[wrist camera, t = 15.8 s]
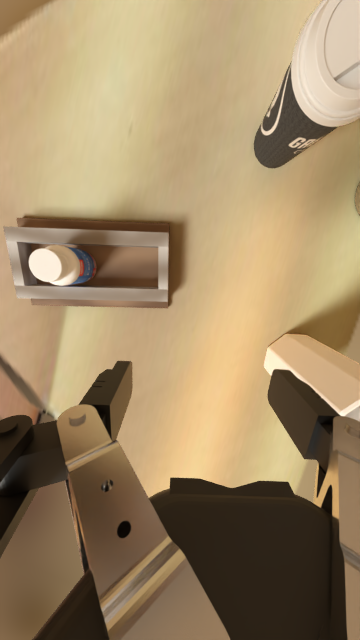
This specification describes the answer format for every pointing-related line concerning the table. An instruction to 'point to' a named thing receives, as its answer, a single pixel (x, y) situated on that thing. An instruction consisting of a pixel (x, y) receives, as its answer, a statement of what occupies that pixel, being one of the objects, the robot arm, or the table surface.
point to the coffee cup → (315, 85)
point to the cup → (319, 370)
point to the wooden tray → (109, 254)
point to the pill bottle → (62, 265)
